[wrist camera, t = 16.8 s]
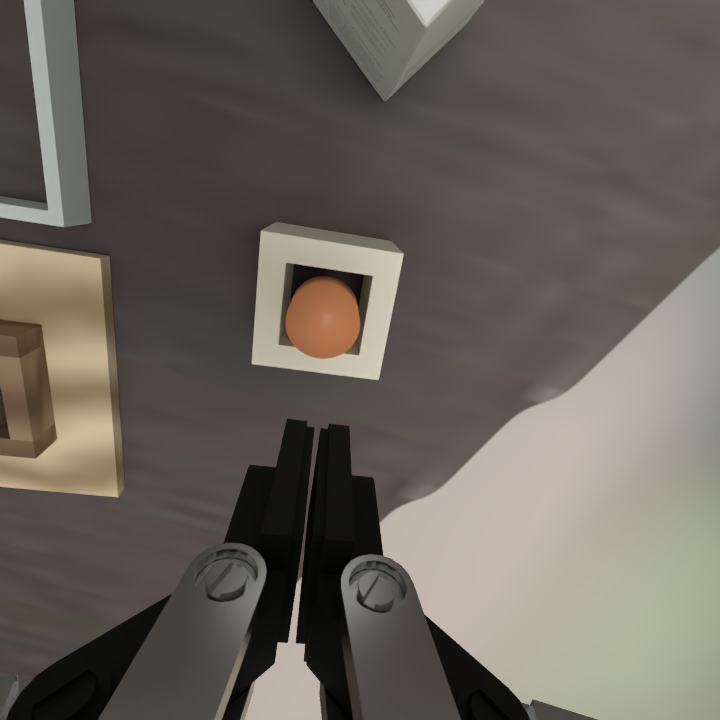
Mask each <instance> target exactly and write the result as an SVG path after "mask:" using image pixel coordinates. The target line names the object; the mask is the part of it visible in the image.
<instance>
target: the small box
mask: <svg viewBox="0 0 720 720" xmlns="http://www.w3.org/2000/svg"><path fill="white" fill-rule="evenodd" d="M312 1H313V2H314V4H315V5H316V7H317V8H318V10H319V11H320V12H321V14H322V15H323V17H324V18H325V20H326V21H327V22H328V24H329V25H330V27H331V28H332V30H333V31H334V32H335V34H336V35H337V37H338V38H339V40H340V41H341V42H342V44H343V45H344V47H345V48H346V49H347V51H348V52H349V54H350V55H351V56H352V58H353V59H354V61H355V62H356V63H357V65H358V66H359V68H360V69H361V71H362V72H363V73H364V75H365V76H366V78H367V79H368V80H369V82H370V83H371V85H372V86H373V87H374V89H375V90H376V91H377V93H378V94H379V95H380V97H381V98H382V100H383V101H387V100H388V99H389V98H390V97H391V96H392V95H393V94H394V93H395V92H396V91H397V90H398V89H399V88H400V87H401V86H402V85H403V84H404V83H405V82H406V81H408V80H409V79H410V78H411V77H412V76H413V75H414V74H415V73H416V72H417V71H418V70H419V69H420V68H421V67H422V66H423V65H424V64H425V63H426V62H427V61H428V60H429V59H430V58H431V57H433V56H434V55H435V54H436V53H437V52H438V51H439V50H440V49H441V48H442V47H443V46H444V45H445V44H446V43H447V42H448V41H449V40H451V39H452V38H453V37H454V36H455V35H456V34H457V33H458V32H459V31H460V30H461V29H462V28H463V27H464V26H465V25H466V24H467V23H468V21H469V20H470V19H471V17H472V16H473V15H474V14H475V12H476V11H477V10H478V8H479V7H480V6H481V5H482V3H483V2H484V1H485V0H312Z"/></svg>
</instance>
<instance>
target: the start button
mask: <svg viewBox="0 0 720 720" xmlns="http://www.w3.org/2000/svg"><path fill="white" fill-rule="evenodd" d="M285 325H286V331H287V334H288V337H289V339H290V340H291V342H292V343H293V345H294V346H295V347H296V348H297V349H298V350H299V351H301V352H302V353H304V354H306V355H308V356H310V357H314V358H319V359H328V358H333V357H337V356H339V355H341V354H343V353H345V352H346V351H347V350H348V349H350V347H351V346H352V345H353V344H354V343H355V341H356V339H357V337H358V334H359V331H360V317H359V311H358V305H357V300H356V297H355V295H354V293H353V291H352V290H351V289H350V287H349V286H348V285H347V284H345V283H344V282H343V281H341V280H339V279H337V278H334V277H330V276H317V277H314V278H311V279H309V280H307V281H305V282H304V283H303V284H301V285H300V286H299V287H298V289H297V290H296V292H295V294H294V296H293V298H292V301H291V303H290V306H289V308H288V311H287V314H286V319H285Z"/></svg>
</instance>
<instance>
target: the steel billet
mask: <svg viewBox="0 0 720 720" xmlns="http://www.w3.org/2000/svg"><path fill="white" fill-rule="evenodd" d="M6 422H7V419H6V413H5V408H4V403H3V397H2V392H1V387H0V426H2V425H3V424H5V423H6Z"/></svg>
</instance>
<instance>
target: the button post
mask: <svg viewBox="0 0 720 720" xmlns="http://www.w3.org/2000/svg"><path fill="white" fill-rule="evenodd" d="M403 255H404V254H403V252H402V251H401V250H400V249H399V248H398V247H397V246H396V245H395V244H394V243H393V242H392V241H389V240H383V239H377V238H371V237H365V236H359V235H353V234H347V233H341V232H334V231H328V230H322V229H316V228H310V227H304V226H298V225H292V224H286V223H280V222H275V223H273V224H271V225H270V226H268V227H266V228H265V229H263V230H261V235H260V250H259V264H258V279H257V293H256V308H255V322H254V337H253V351H252V364H255V365H263V366H271V367H279V368H287V369H295V370H303V371H311V372H318V373H326V374H334V375H342V376H350V377H358V378H366V379H373V380H379V375H380V370H381V365H382V360H383V355H384V350H385V345H386V340H387V335H388V330H389V325H390V320H391V315H392V310H393V305H394V300H395V295H396V290H397V285H398V280H399V275H400V270H401V265H402V260H403ZM294 264H299V265H305V266H312V267H318V268H325V269H331V270H338V271H344V272H351V273H357V274H364V277H363V283H362V289H361V295H360V301H359V307H358V311H359V317H360V331H359V334H358V337H357V339H356V341H355V343H354V344H353V345H352V346H351V347H350V349H348V350H347V351H346V352H345V353H343V354H341V355H339V356H337V357H333V358H328V359H319V358H314V357H310V356H308V355H306V354H304V353H302V352H301V351H299V350H298V349H297V348H296V347H295V346H294V345H293V343H292V342H291V340H290V339H289V337H288V334H287V331H286V325H285V319H286V314H287V311H288V308H289V306H290V300H291V290H292V281H293V271H294Z"/></svg>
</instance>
